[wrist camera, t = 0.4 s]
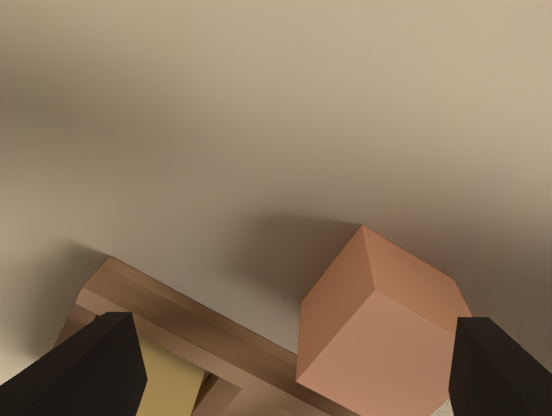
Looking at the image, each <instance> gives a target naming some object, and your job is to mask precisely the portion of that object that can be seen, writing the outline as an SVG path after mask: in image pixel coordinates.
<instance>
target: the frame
mask: <svg viewBox="0 0 552 416" xmlns="http://www.w3.org/2000/svg"><path fill="white" fill-rule="evenodd" d="M106 312H132V315H133V319H134V323H135V327H136V332H137V335H139V336H140V337H142V338H144V339H146V340H148V341H150V342H152V343H154V344H156V345H158V346H160V347H162V348H164V349H166V350H168V351H170V352H172V353H174V354H176V355H178V356H180V357H182V358H183V359H185V360H187V361H189V362H191V363H193V364H195V365H197V366H199V367H201V368H203V369H205V373H204V376H203V379H202V382H201V385H200V388H199V391H198V394H197V397H196V400H195V403H194V407H193V410H192V413H191V416H361V415H359V414H357V413H355V412H353V411H351V410H349V409H347V408H346V407H344V406H342V405H340V404H338V403H336V402H334V401H332V400H330V399H328V398H326V397H325V396H323V395H321V394H319V393H317V392H315V391H313V390H311V389H309V388H307V387H305V386H304V385H302V384H300V383H298V382H296V371H297V356H296V355H294V354H293V353H291V352H289V351H287V350H285V349H283V348H281V347H279V346H278V345H276V344H274V343H272V342H270V341H268V340H266V339H265V338H263V337H261V336H259V335H257V334H255V333H253V332H251V331H250V330H248V329H246V328H244V327H242V326H240V325H238V324H236V323H235V322H233V321H231V320H229V319H227V318H225V317H223V316H221V315H220V314H218V313H216V312H214V311H212V310H210V309H208V308H206V307H205V306H203V305H201V304H199V303H197V302H195V301H193V300H191V299H190V298H188V297H186V296H184V295H182V294H180V293H178V292H177V291H175V290H173V289H171V288H169V287H167V286H165V285H163V284H162V283H160V282H158V281H156V280H154V279H152V278H150V277H148V276H147V275H145V274H143V273H141V272H139V271H137V270H135V269H133V268H132V267H130V266H128V265H126V264H124V263H122V262H120V261H118V260H117V259H115V258H113V257H111V256H109V258H108V259H107V260H106V261H105V262H104V263H103V264H102V265H101V267H100V268H99V269H98V270H97V271H96V272H95V273H94V274H93V276H92V277H91V278H90V279H89V280H88V281H87V282H86V284H85V285H84V286H83V287H82V289H81V291H80V293H79V295H78V297H77V299H76V302H75V304H74V306H73V308H72V310H71V312H70V314H69V316H68V318H67V320H66V323H65V325H64V327H63V329H62V331H61V333H60V335H59V337H58V339H57V341H56V344H55V346H54V348H55V347H57V346H58V345H59V344H61V343H62V342H64V341H65V340H66V339H68V338H69V337H70V336H72V335H73V334H75V333H76V332H77V331H79V330H80V329H82V328H83V327H85V326H86V325H87V324H89V323H90V322H92V321H93V320H95V319H96V318H98V317H99V316H101V315H102V314H104V313H106ZM54 348H53V349H54Z"/></svg>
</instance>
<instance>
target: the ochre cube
mask: <svg viewBox="0 0 552 416" xmlns="http://www.w3.org/2000/svg"><path fill="white" fill-rule="evenodd" d="M137 336H138V340H139V344H140V348H141V353H142V357H143V361H144V365H145V369H146V374H147V378H148V381H147V384H146V387H145V390H144V393H143V396H142V399H141V403H140V405H139V408H138V411H137V414H136V416H191V413H192V410H193V407H194V403H195V400H196V397H197V394H198V391H199V388H200V385H201V382H202V379H203V376H204V373H205V369H203V368H201V367H199V366H197V365H195V364H193V363H191V362H189V361H187V360H185V359H183V358H182V357H180V356H178V355H176V354H174V353H172V352H170V351H168V350H166V349H164V348H162V347H160V346H158V345H156V344H154V343H152V342H150V341H148V340H146V339H144V338H142V337H140V336H139V335H137Z"/></svg>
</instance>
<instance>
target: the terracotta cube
mask: <svg viewBox="0 0 552 416" xmlns="http://www.w3.org/2000/svg"><path fill="white" fill-rule="evenodd" d="M458 317H473V316H472V314H471V312H470V310H469V308H468V306H467V304H466V303H465V301H464V299H463V297H462V295H461V293H460V291H459V289H458V287H457V285H456V283H455V281H454V279H452V278H451V277H449V276H447V275H445V274H444V273H442V272H440V271H439V270H437V269H435V268H434V267H432V266H430V265H429V264H427V263H425V262H424V261H422V260H420V259H419V258H417V257H415V256H414V255H412V254H410V253H409V252H407V251H405V250H404V249H402V248H400V247H399V246H397V245H395V244H393V243H392V242H390V241H388V240H387V239H385V238H383V237H382V236H380V235H378V234H377V233H375V232H373V231H372V230H370V229H368V228H367V227H365V226H363V225H361V226H360V228H359V229H358V230H357V232H356V233H355V234H354V235H353V237H352V238H351V239H350V241H349V242H348V243H347V244H346V246H345V247H344V248H343V249H342V251H341V252H340V253H339V255H338V256H337V257H336V258H335V260H334V261H333V262H332V264H331V265H330V266H329V267H328V269H327V270H326V271H325V272H324V274H323V275H322V276H321V278H320V279H319V280H318V281H317V283H316V284H315V285H314V287H313V288H312V289H311V290H310V292H309V293H308V294H307V295H306V297H305V298H304V299H303V301H302V302H301V311H300V326H299V341H298V356H297V371H296V382H298V383H300V384H302V385H304V386H305V387H307V388H309V389H311V390H313V391H315V392H317V393H319V394H321V395H323V396H325V397H326V398H328V399H330V400H332V401H334V402H336V403H338V404H340V405H342V406H344V407H346V408H347V409H349V410H351V411H353V412H355V413H357V414H359V415H361V416H429V415H430V414H432V413H433V412H434V411H435V410H436V409H437V408H438V407H439V406H441V405H442V404H443V403H444V402H445V401H446V400H447V399H448V398H450V396H449V392H448V387H449V379H450V372H451V364H452V356H453V349H454V341H455V334H456V326H457V319H458Z"/></svg>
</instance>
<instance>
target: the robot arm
mask: <svg viewBox="0 0 552 416" xmlns="http://www.w3.org/2000/svg"><path fill="white" fill-rule="evenodd" d="M147 381H148V378H147V374H146V369H145V365H144V361H143V357H142V353H141V348H140V344H139V340H138V336H137V332H136V327H135V323H134V319H133V315H132V312H106V313H104V314H102V315H101V316H99V317H98V318H96V319H95V320H93V321H92V322H90V323H89V324H87V325H86V326H85V327H83V328H82V329H80V330H79V331H77V332H76V333H75V334H73V335H72V336H70V337H69V338H68V339H66V340H65V341H64V342H62V343H61V344H59V345H58V346H57V347H55V348H54V349H52V350H51V351H50V352H48V353H47V354H45V355H44V356H43V357H41V358H40V359H38V360H37V361H35V362H34V363H33V364H31V365H30V366H28V367H27V368H26V369H24V370H23V371H21V372H20V373H18V374H17V375H16V376H14V377H13V378H11V379H10V380H8V381H7V382H5V383H3V384H2V385H0V416H136V414H137V411H138V408H139V405H140V403H141V399H142V396H143V393H144V390H145V387H146V384H147ZM448 392H449V396H450V400H451V405H452V409H453V414H454V416H552V374H551V373H550V372H549V371H548V370H547V369H546V368H544V367H543V366H542V365H541V364H540V363H539V362H538V361H536V360H535V359H534V358H533V357H532V356H531V355H530V354H529V353H528V352H526V351H525V350H524V349H523V348H522V347H521V346H520V345H519V344H518V343H516V342H515V341H514V340H513V339H512V338H511V337H510V336H509V335H508V334H507V333H505V332H504V331H503V330H502V329H501V328H500V327H499V326H498V325H497V324H495V323H494V322H493V321H492V320H491V319H490V318H488V317H458V319H457V326H456V334H455V341H454V349H453V356H452V364H451V372H450V379H449V387H448Z"/></svg>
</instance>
